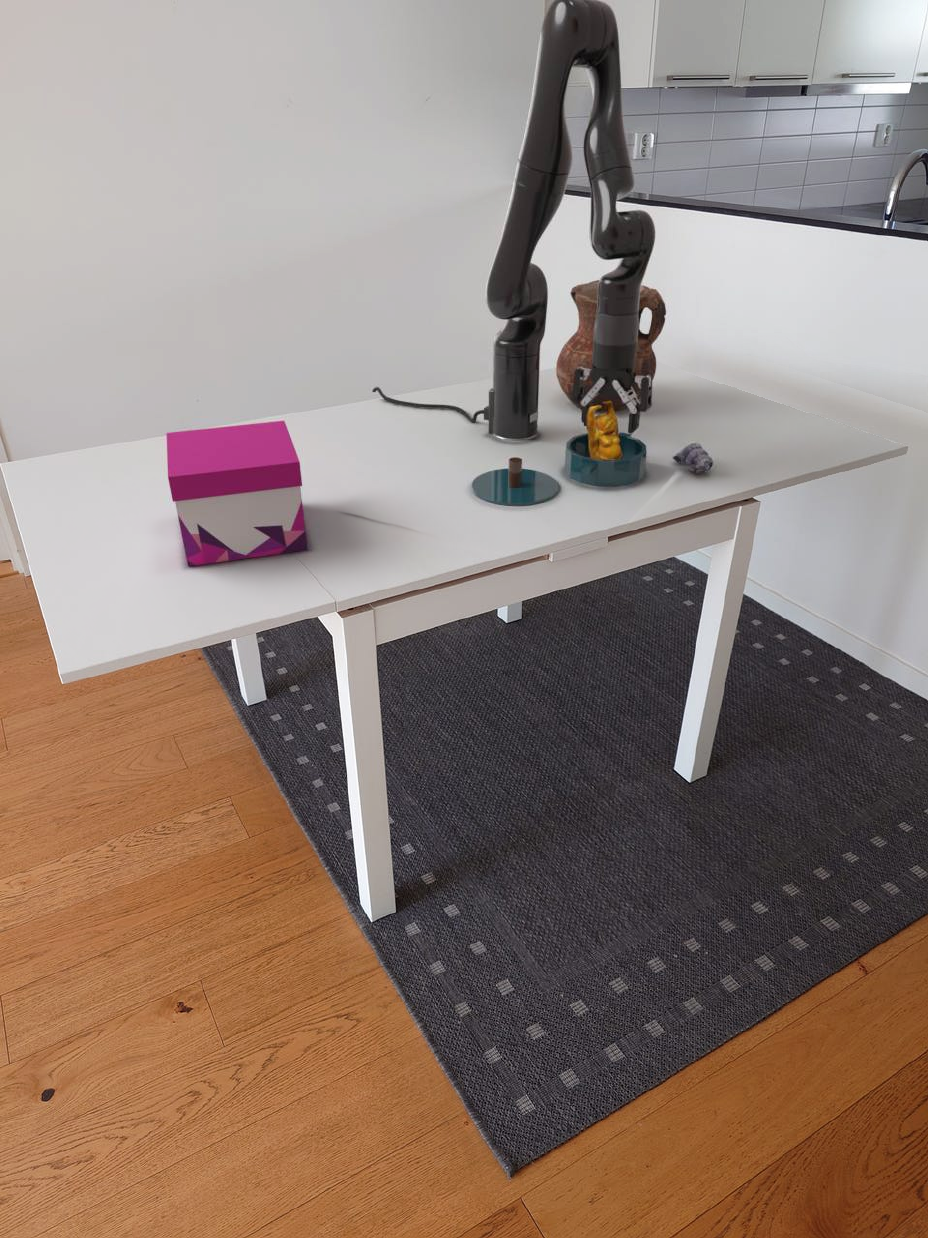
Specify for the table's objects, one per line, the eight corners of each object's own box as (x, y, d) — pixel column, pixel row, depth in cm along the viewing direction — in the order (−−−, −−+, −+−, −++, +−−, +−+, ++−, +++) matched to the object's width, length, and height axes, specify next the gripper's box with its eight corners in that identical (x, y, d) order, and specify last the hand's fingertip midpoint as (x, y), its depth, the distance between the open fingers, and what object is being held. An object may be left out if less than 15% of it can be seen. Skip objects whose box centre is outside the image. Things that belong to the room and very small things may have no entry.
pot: (545, 484, 162) (546, 456, 159) (589, 449, 176) (591, 423, 173) (620, 501, 155) (623, 472, 153) (659, 463, 170) (662, 436, 167)
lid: (455, 497, 157) (454, 466, 154) (497, 467, 169) (497, 438, 166) (534, 516, 151) (535, 483, 147) (572, 483, 162) (574, 453, 159)
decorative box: (309, 550, 141) (299, 461, 133) (186, 568, 136) (167, 477, 128) (294, 502, 156) (284, 420, 148) (182, 516, 152) (166, 432, 144)
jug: (558, 418, 192) (565, 298, 178) (550, 388, 209) (555, 277, 196) (661, 417, 192) (675, 297, 178) (643, 387, 209) (655, 276, 196)
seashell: (676, 466, 172) (704, 487, 164) (664, 448, 169) (692, 468, 161) (698, 447, 171) (727, 467, 163) (686, 428, 168) (715, 448, 160)
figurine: (612, 480, 162) (618, 412, 155) (580, 471, 166) (585, 404, 159) (629, 469, 166) (635, 402, 160) (598, 461, 170) (603, 396, 163)
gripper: (662, 337, 152) (653, 428, 161) (585, 328, 159) (581, 416, 167) (647, 347, 147) (639, 441, 155) (568, 338, 153) (564, 428, 162)
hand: (609, 428), depth 161 cm, fingers open, 8 cm apart
